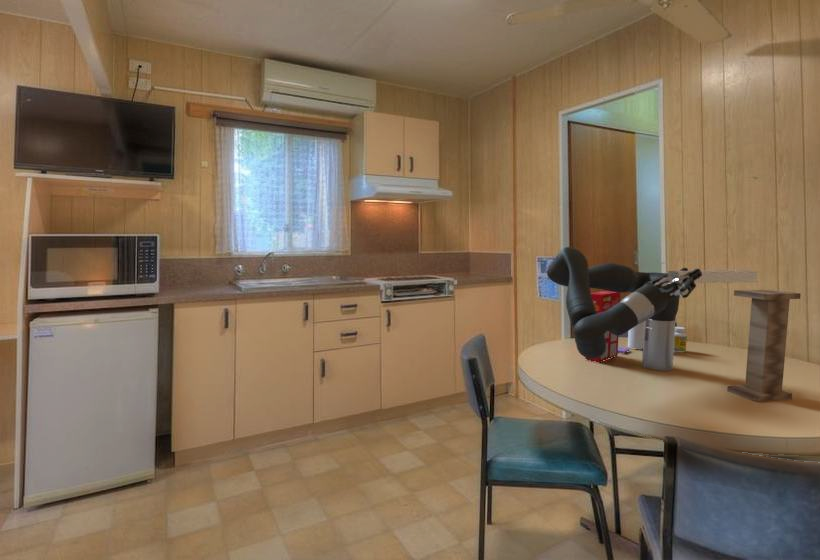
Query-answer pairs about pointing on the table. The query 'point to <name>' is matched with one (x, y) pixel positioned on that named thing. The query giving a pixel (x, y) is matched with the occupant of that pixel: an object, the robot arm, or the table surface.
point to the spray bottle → (636, 336)
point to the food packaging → (603, 303)
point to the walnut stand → (766, 345)
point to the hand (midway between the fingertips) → (693, 271)
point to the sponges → (623, 349)
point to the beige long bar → (718, 276)
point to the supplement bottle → (680, 339)
